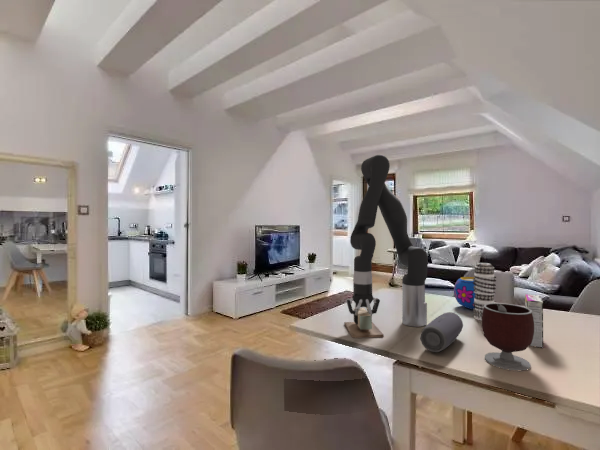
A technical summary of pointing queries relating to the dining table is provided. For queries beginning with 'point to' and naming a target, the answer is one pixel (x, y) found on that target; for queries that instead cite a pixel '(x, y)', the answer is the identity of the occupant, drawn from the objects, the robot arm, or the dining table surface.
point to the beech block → (364, 319)
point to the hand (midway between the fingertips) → (362, 323)
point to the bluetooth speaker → (441, 332)
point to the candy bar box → (536, 317)
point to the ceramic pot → (465, 292)
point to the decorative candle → (483, 287)
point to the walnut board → (362, 331)
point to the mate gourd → (507, 334)
